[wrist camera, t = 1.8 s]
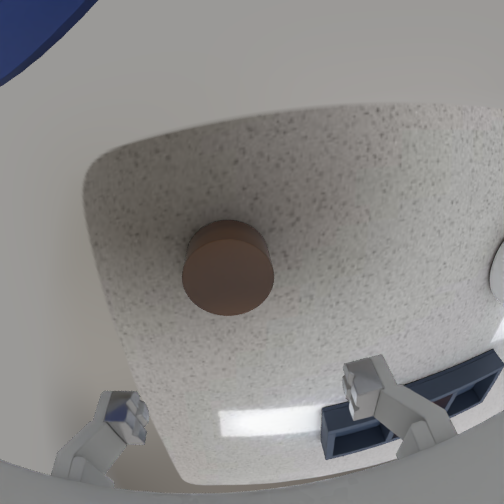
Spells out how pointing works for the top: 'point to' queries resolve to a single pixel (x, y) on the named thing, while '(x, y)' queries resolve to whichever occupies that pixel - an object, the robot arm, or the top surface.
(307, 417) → the top surface
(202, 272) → the cylinder
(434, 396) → the grid
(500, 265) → the mug
